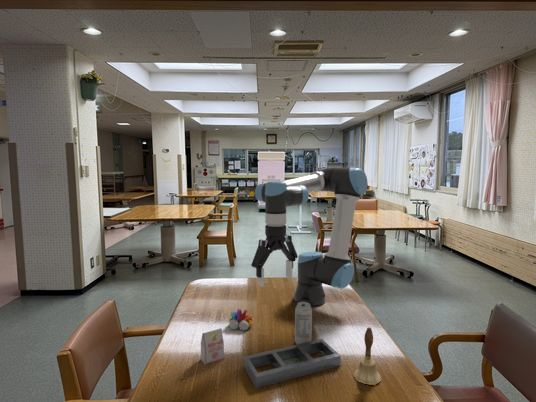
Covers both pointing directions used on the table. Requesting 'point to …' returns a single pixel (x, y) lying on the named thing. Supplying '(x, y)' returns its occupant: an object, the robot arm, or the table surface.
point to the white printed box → (212, 346)
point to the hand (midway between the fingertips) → (275, 281)
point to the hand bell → (367, 363)
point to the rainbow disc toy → (240, 320)
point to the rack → (290, 362)
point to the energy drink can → (303, 322)
